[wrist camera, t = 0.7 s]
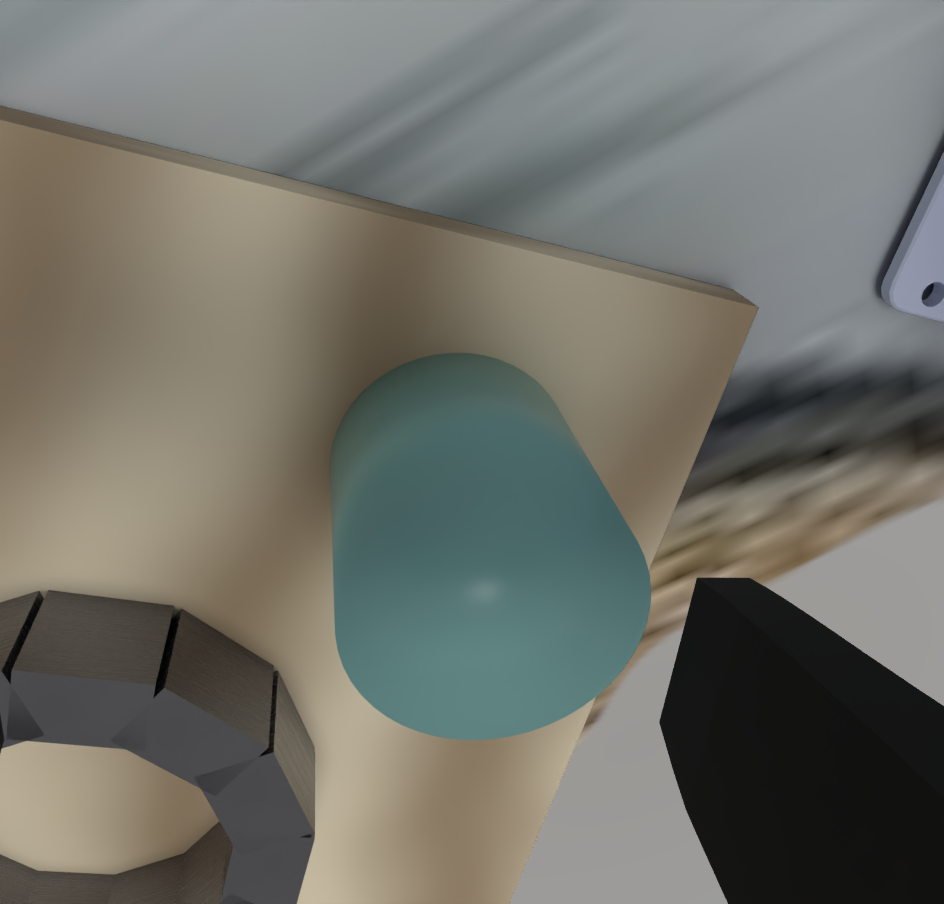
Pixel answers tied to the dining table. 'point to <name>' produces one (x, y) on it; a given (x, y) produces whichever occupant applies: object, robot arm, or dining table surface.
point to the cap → (476, 553)
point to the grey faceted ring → (163, 742)
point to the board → (291, 469)
